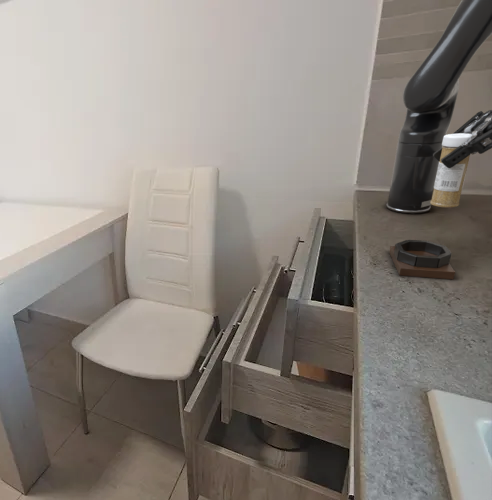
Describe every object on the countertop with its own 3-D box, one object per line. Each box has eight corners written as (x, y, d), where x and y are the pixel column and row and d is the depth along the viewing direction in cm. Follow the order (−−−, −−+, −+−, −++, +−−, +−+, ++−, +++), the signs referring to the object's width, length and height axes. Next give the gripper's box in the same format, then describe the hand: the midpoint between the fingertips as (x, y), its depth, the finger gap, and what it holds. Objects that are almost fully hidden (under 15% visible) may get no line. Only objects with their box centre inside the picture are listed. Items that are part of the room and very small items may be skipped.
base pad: (389, 252, 76) (392, 236, 74) (437, 255, 73) (440, 239, 71) (399, 275, 67) (402, 258, 66) (453, 279, 64) (458, 261, 63)
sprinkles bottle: (462, 204, 72) (480, 133, 67) (452, 209, 70) (470, 136, 64) (435, 200, 76) (450, 132, 70) (425, 205, 73) (439, 135, 68)
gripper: (590, 106, 55) (467, 185, 64) (540, 98, 67) (442, 166, 76) (554, 71, 55) (436, 155, 64) (511, 70, 66) (416, 141, 76)
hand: (440, 161), depth 70 cm, fingers closed on sprinkles bottle, 4 cm apart
